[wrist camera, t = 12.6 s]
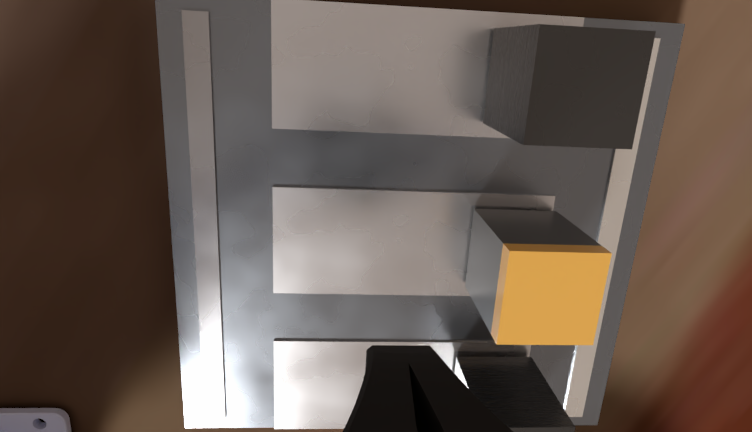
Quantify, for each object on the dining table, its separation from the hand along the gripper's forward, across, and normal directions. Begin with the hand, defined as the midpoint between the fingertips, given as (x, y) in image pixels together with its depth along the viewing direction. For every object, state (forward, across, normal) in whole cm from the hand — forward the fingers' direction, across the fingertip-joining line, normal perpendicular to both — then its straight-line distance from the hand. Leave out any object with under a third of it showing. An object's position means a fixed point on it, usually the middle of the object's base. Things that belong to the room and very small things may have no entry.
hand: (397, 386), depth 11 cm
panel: (+10, -2, 0) cm, 10 cm away
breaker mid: (+8, -5, 0) cm, 10 cm away
